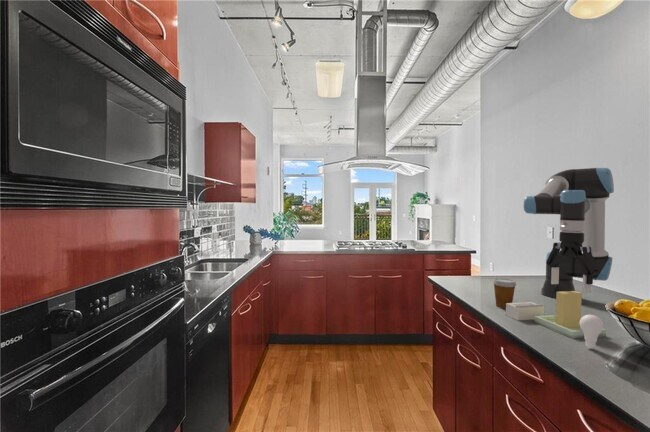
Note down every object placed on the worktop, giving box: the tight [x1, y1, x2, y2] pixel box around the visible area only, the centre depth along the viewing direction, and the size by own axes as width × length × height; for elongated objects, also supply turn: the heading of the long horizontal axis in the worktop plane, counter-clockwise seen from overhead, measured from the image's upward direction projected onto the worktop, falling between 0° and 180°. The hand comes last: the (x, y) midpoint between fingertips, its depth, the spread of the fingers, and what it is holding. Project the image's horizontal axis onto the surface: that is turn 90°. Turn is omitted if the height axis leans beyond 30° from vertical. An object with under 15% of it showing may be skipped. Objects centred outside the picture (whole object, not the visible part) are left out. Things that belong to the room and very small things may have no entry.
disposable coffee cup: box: [492, 277, 517, 309], centre depth 160 cm, size 10×10×12 cm
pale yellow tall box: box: [555, 290, 583, 328], centre depth 131 cm, size 8×3×13 cm, turn 101°
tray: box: [534, 314, 607, 339], centre depth 132 cm, size 14×17×2 cm
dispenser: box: [505, 301, 545, 321], centre depth 145 cm, size 12×7×6 cm, turn 101°
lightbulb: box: [580, 314, 604, 350], centre depth 113 cm, size 6×6×11 cm
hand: (569, 288), depth 131 cm, fingers open, 13 cm apart
